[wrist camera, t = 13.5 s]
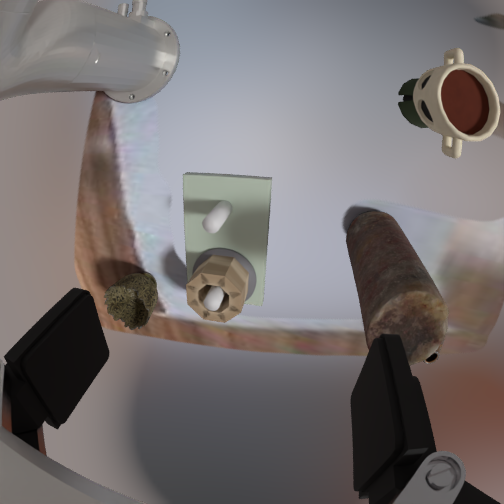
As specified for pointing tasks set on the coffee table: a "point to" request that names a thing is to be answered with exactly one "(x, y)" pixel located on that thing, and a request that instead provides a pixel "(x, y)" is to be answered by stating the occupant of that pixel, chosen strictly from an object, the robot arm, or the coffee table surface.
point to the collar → (228, 278)
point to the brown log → (395, 287)
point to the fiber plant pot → (132, 299)
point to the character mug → (452, 102)
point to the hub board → (227, 227)
